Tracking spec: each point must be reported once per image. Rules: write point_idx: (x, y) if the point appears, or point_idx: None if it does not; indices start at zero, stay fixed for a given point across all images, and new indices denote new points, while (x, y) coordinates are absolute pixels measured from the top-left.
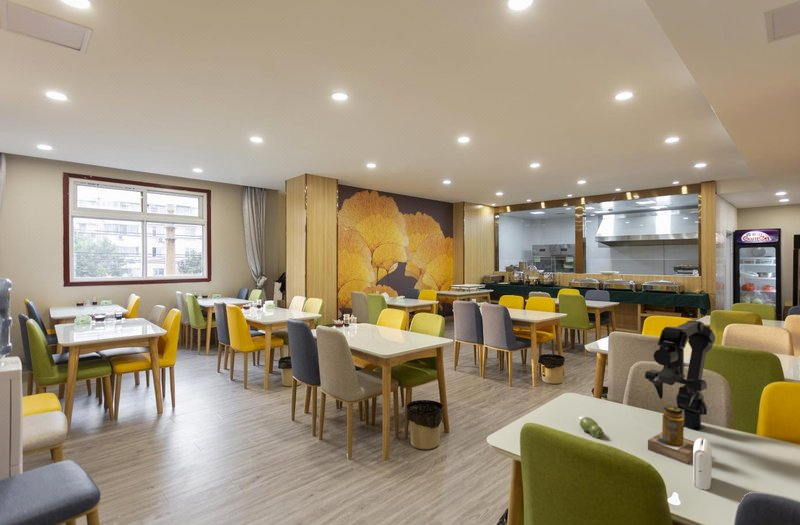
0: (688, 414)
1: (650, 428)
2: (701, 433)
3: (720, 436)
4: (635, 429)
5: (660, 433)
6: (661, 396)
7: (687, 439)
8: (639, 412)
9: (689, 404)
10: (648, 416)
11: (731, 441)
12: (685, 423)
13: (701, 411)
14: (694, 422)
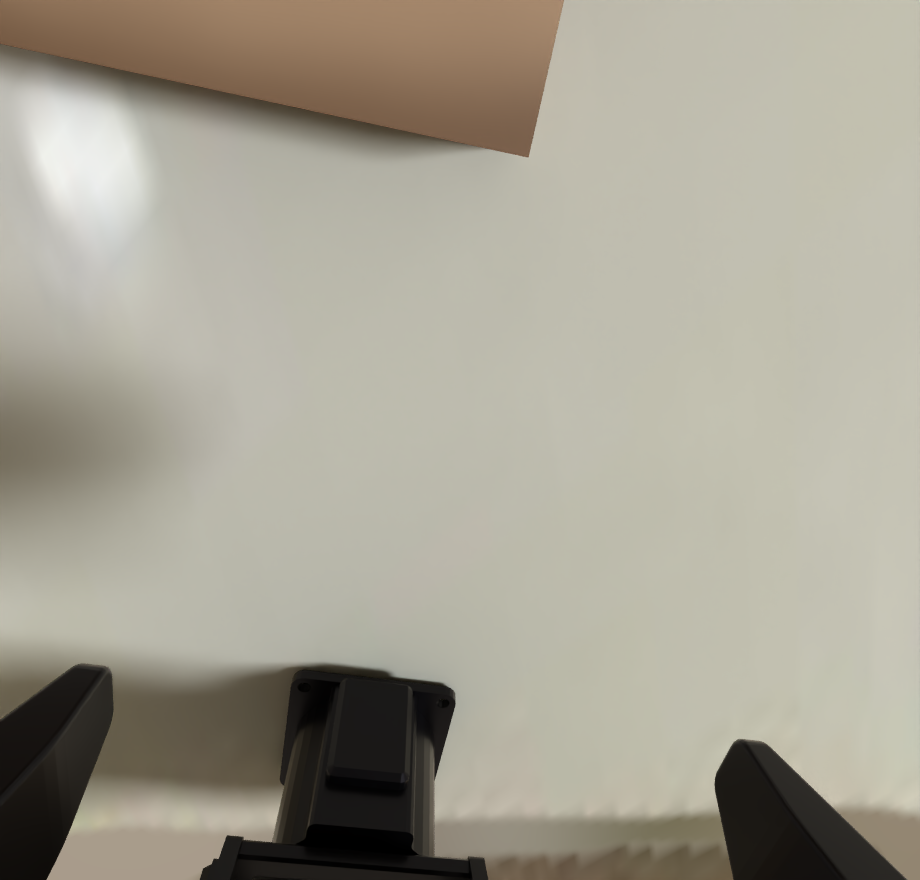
0: (368, 802)
1: (684, 433)
2: (260, 633)
3: (123, 670)
4: (841, 280)
5: (552, 13)
6: (751, 811)
7: (172, 65)
8: (801, 741)
9: (33, 707)
10: (722, 706)
11: (17, 626)
12: (400, 701)
13: (213, 874)
14: (322, 737)
